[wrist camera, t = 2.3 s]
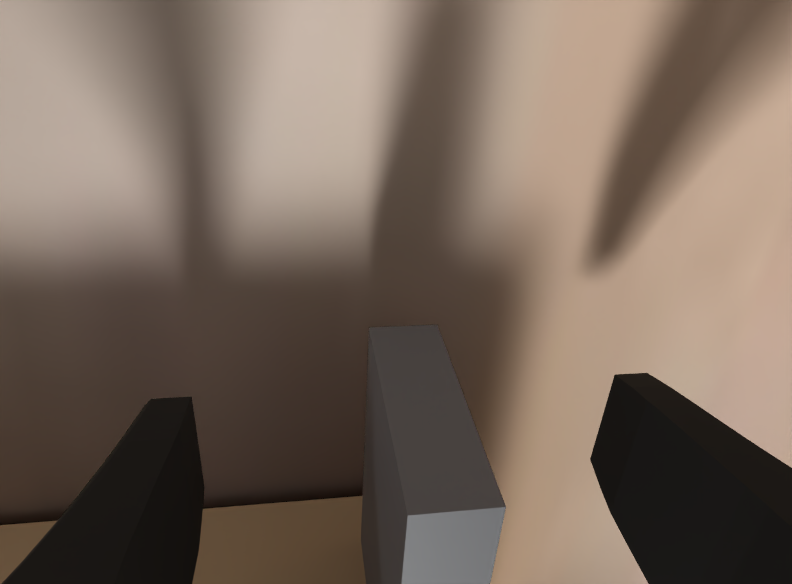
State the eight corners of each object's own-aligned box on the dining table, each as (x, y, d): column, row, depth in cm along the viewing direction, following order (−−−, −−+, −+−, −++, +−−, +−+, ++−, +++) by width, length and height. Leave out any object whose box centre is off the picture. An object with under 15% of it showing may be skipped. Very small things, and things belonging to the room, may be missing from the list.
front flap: (-291, 569, 13) (-674, 1000, 8) (-487, 317, 10) (-1344, 757, 5) (453, 505, 15) (538, 800, 10) (484, 288, 12) (628, 554, 7)
